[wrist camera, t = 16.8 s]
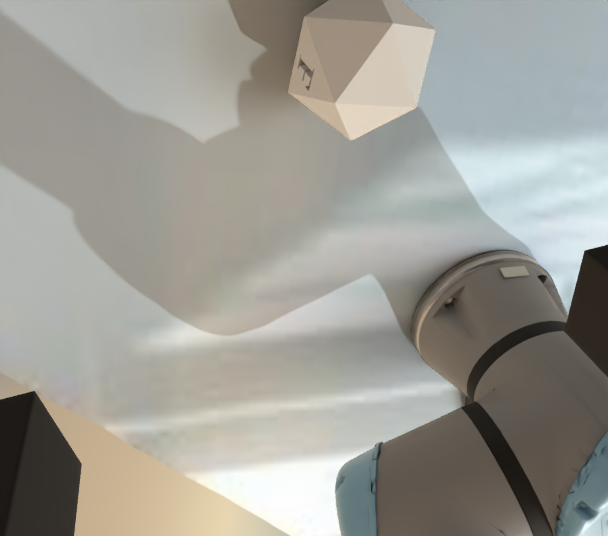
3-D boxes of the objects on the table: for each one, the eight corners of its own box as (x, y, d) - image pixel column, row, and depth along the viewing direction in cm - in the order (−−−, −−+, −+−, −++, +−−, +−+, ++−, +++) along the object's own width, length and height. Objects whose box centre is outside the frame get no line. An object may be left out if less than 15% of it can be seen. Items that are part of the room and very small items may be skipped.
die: (337, -62, 34) (276, 4, 28) (467, -9, 33) (435, 69, 27) (308, 56, 41) (255, 130, 35) (417, 101, 40) (382, 184, 34)
